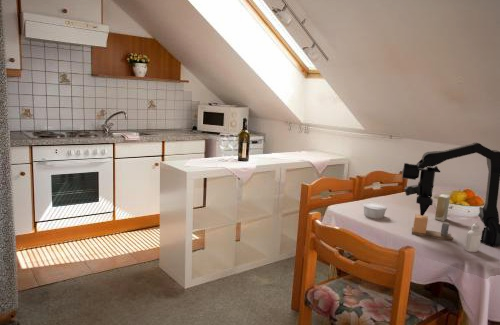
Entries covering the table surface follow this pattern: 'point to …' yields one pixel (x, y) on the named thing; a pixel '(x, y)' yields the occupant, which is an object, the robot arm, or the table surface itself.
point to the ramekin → (374, 210)
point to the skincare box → (442, 207)
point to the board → (433, 235)
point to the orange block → (420, 224)
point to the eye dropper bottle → (473, 239)
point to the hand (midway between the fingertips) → (421, 215)
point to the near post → (444, 229)
